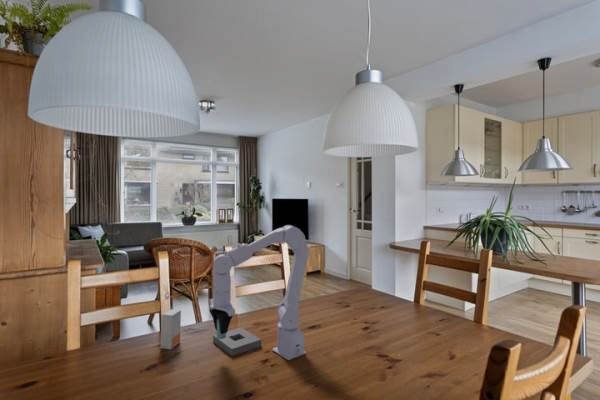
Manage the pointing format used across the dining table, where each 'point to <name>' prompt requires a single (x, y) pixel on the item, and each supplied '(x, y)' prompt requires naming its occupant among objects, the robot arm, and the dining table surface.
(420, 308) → the dining table surface
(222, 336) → the peg
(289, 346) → the robot arm
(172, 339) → the skincare box
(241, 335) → the peg block
